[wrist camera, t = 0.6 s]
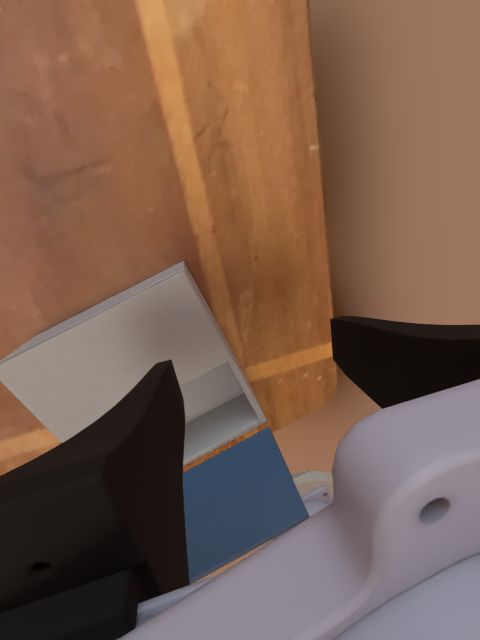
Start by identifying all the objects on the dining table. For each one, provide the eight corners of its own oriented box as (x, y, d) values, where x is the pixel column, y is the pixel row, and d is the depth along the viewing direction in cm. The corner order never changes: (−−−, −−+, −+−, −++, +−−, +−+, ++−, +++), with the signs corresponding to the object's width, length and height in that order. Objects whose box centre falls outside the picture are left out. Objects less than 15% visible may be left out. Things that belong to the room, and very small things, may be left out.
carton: (253, 389, 25) (270, 428, 20) (135, 451, 24) (123, 507, 19) (183, 260, 20) (183, 269, 15) (36, 335, 20) (-13, 369, 15)
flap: (268, 426, 20) (270, 429, 20) (123, 504, 19) (126, 507, 20) (308, 514, 14) (310, 518, 14) (103, 627, 14) (108, 630, 14)
